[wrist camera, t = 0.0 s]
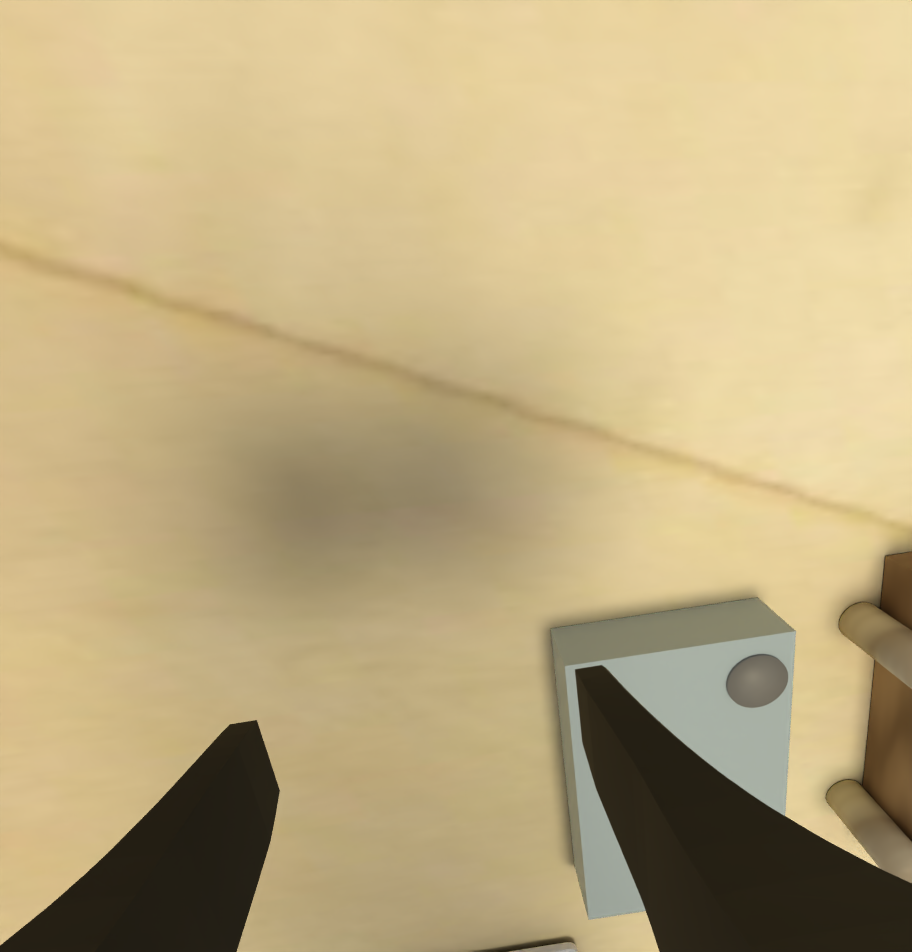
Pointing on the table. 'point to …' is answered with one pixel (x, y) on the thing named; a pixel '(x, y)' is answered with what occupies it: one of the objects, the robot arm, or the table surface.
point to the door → (678, 714)
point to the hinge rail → (884, 725)
